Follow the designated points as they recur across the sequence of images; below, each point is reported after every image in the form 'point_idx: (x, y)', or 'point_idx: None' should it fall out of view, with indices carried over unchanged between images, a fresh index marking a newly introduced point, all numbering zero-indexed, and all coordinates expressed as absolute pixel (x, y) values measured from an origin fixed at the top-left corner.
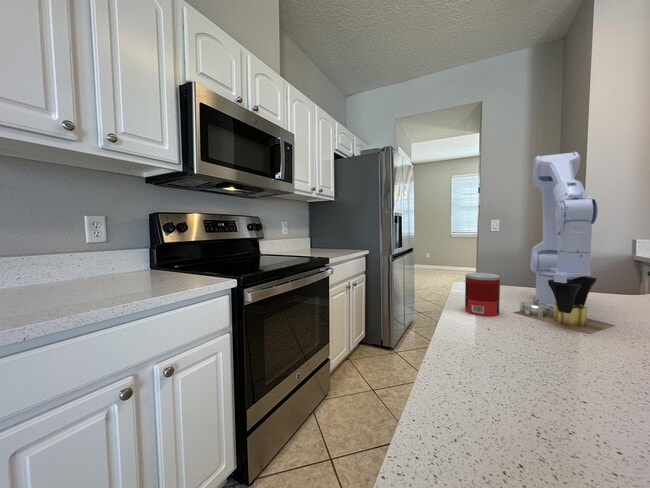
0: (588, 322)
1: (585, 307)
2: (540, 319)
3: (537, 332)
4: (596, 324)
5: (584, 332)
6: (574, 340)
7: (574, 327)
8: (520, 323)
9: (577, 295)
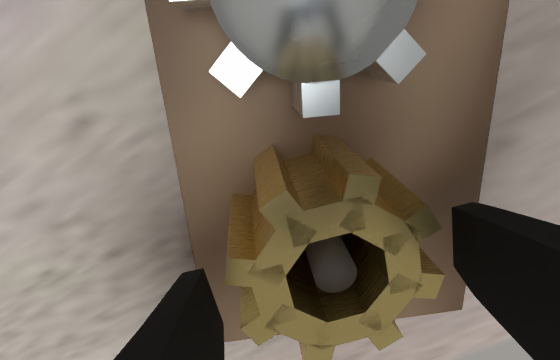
0: None
1: (378, 343)
2: (184, 111)
3: (23, 205)
4: None
5: None
6: (121, 323)
7: None
8: (46, 48)
9: (531, 299)
